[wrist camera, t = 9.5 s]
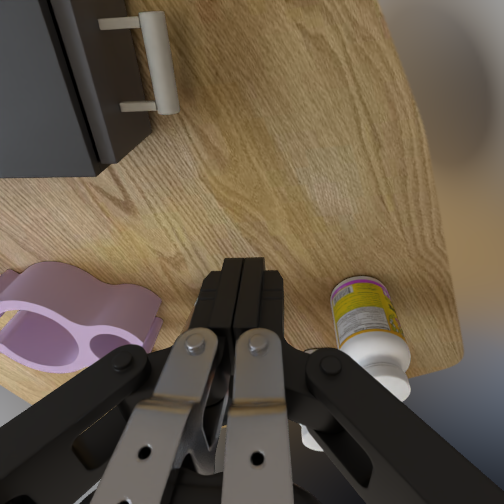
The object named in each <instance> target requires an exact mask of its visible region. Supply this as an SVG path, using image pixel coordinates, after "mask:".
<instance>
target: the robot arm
mask: <svg viewBox="0 0 504 504" xmlns="http://www.w3.org/2000/svg"><path fill="white" fill-rule="evenodd" d="M230 375H234V378H233V394H232V404H231V405H230V406H229V409H228V416H227V430H226V443H225V458H224V471H223V472H220V473H216V474H214V472H215V453H216V448H217V444H218V439H219V435H220V431H221V427H222V423H223V418H224V414H225V410H226V406H227V401H228V396H229V393H228V387H229V380H230ZM116 405H117V406H116ZM115 406H116V407H115ZM111 409H112V410H111ZM110 410H111V411H110ZM107 412H108V413H107ZM106 413H107V414H106ZM105 414H106V415H105ZM102 416H103V417H102ZM101 417H102V418H101ZM100 418H101V419H100ZM288 419H289V420H291V421H294V422H296V423H299V424H302V425H304V426H306V428H307V430H308V432H309V433H310V435H311V436H312V437H313V438H314V440H315V441H316V442H317V443H318V445H319V446H320V447H321V448H322V450H323V451H324V452H325V453H326V454H327V456H328V457H329V458H330V459H331V461H332V462H333V463H334V464H335V466H336V467H337V468H338V469H339V470H340V471H341V473H342V474H343V475H344V477H345V478H346V479H347V480H348V481H349V483H350V484H351V485H352V486H353V488H354V489H355V490H356V491H357V493H358V494H359V495H360V496H361V497H362V499H363V500H364V501H365V502H366V504H504V491H503V490H502V489H500V488H499V487H498V486H497V485H496V484H495V483H494V482H492V481H491V480H490V479H489V478H488V477H487V476H485V475H484V474H483V473H482V472H481V471H480V470H479V469H478V468H476V467H475V466H474V465H473V464H472V463H471V462H469V461H468V460H467V459H466V458H465V457H464V456H463V455H461V453H459V452H458V451H457V450H456V449H455V448H454V447H453V446H451V445H450V444H449V443H448V442H447V441H445V439H443V438H442V437H441V436H440V435H439V434H438V433H437V432H435V431H434V430H433V429H432V428H431V427H430V426H429V425H427V424H426V423H425V422H424V421H423V420H422V419H421V418H419V417H418V416H417V415H416V414H415V413H414V412H413V411H411V410H410V409H409V408H408V407H407V406H406V405H404V404H403V403H402V402H401V401H400V400H399V399H398V398H397V397H396V396H394V395H393V394H392V393H391V392H390V391H389V390H388V389H386V388H385V387H384V386H383V385H382V384H381V383H380V382H378V381H377V380H376V379H375V378H374V377H373V376H372V375H370V374H369V373H368V372H367V371H366V370H365V369H364V368H362V367H361V366H360V365H359V364H358V363H357V362H356V361H354V360H353V359H352V358H351V357H350V356H349V355H347V354H346V353H345V352H343V351H341V350H338V349H335V348H321V349H318V350H316V351H314V352H313V353H311V354H309V353H306V352H302V351H300V350H297V349H295V348H293V347H292V346H291V345H289V344H288V343H287V341H286V340H285V338H284V289H283V278H282V277H281V275H280V273H279V272H278V270H267V271H265V259H264V257H254V258H245V259H244V258H225V259H224V263H223V266H222V270H221V271H211V272H210V273H209V275H208V276H207V277H206V278H205V279H204V280H203V283H202V286H201V290H200V293H199V296H198V300H197V302H196V306H195V309H194V312H193V315H192V318H191V322H190V325H189V328H188V330H187V331H185V332H183V333H182V334H181V335H180V336H178V338H177V339H176V340H175V342H174V345H173V346H171V347H169V348H166V349H163V350H159V351H155V352H151V353H146V351H145V349H144V348H143V347H141V346H139V345H136V344H127V345H123V346H120V347H118V348H116V349H114V350H112V351H111V352H109V353H108V354H107V355H105V356H104V357H102V358H101V359H99V360H98V361H96V362H95V363H93V364H92V365H91V366H89V367H88V368H86V369H85V370H83V371H82V372H80V373H79V374H77V375H76V376H75V377H73V378H72V379H70V380H69V381H67V382H66V383H64V384H63V385H61V386H60V387H59V388H57V389H56V390H54V391H53V392H51V393H50V394H48V395H47V396H45V397H44V398H43V399H41V400H40V401H38V402H37V403H35V404H34V405H32V406H31V407H29V408H28V409H27V410H25V411H24V412H22V413H21V414H19V415H18V416H16V417H15V418H13V419H12V420H10V421H9V422H8V423H6V424H5V425H3V426H2V427H0V504H73V503H75V502H76V501H77V500H78V499H79V498H80V497H81V496H82V495H84V494H85V493H86V492H87V491H88V490H89V489H90V488H91V487H92V486H93V485H95V484H96V483H97V482H98V481H99V480H100V479H101V480H100V482H99V485H98V487H97V489H96V490H95V491H93V492H92V493H91V494H89V495H88V496H87V497H86V498H85V499H84V500H83V501H82V502H81V503H80V504H322V503H321V502H320V501H319V500H318V499H317V498H316V497H315V496H313V495H312V494H311V493H309V492H308V491H307V490H305V489H304V488H302V487H300V486H298V485H296V484H294V483H293V482H292V470H291V457H290V444H289V433H288V432H289V431H288ZM97 420H98V421H97ZM96 421H97V422H96ZM92 424H93V425H92ZM91 425H92V426H91ZM87 428H88V429H87ZM86 429H87V430H86ZM82 432H83V433H82ZM81 433H82V434H81Z"/></svg>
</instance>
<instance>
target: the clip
mask: <svg viewBox="0 0 504 504" xmlns="http://www.w3.org/2000/svg"><path fill="white" fill-rule="evenodd" d="M161 302H162V301H161V299H160V298H159V297H158V296H157V295H156V294H155V293H153V292H152V291H150V290H148V289H146V288H144V287H142V286H138V285H134V284H119V285H111V284H106V283H103V282H101V281H99V280H98V279H96V278H95V277H93V276H92V275H90V274H89V273H87V272H86V271H84V270H82V269H80V268H77V267H75V266H72V265H69V264H66V263H61V262H53V261H47V262H39V263H36V264H33V265H31V266H29V267H28V268H27V269H26V270H25V271H24V272H23V273H22V274H18V273H16V272H15V271H13V270H11V269H7V270H6V271H5V272H4V273H3V274H2V275H1V276H0V317H1V316H2V315H3V314H4V313H5V312H6V311H10V310H19V311H18V312H17V313H16V314H15V315H14V316H13V318H12V319H11V320H10V321H9V322H8V323H7V324H6V325H5V326H4V328H3V329H2V330H1V331H0V353H3V354H5V355H6V356H8V357H9V358H11V359H13V360H14V361H16V362H18V363H20V364H23V365H25V366H27V367H30V368H33V369H36V370H40V371H44V372H50V373H70V372H74V371H77V370H80V369H82V368H84V367H87V366H91V365H92V364H93V363H95V362H96V361H98V360H99V359H101V358H102V357H104V356H105V355H107V354H108V353H109V352H111V351H112V350H114V349H116V348H118V347H120V346H123V345H127V344H136V345H139V346H141V347H143V348H144V349H145V351H146V353H151V351H152V349H153V346H154V344H155V341H156V339H157V336H158V334H159V331H160V329H161V326H162V324H163V320H162V319H161V318H159V317H155V316H156V313H157V311H158V309H159V307H160V304H161Z"/></svg>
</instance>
